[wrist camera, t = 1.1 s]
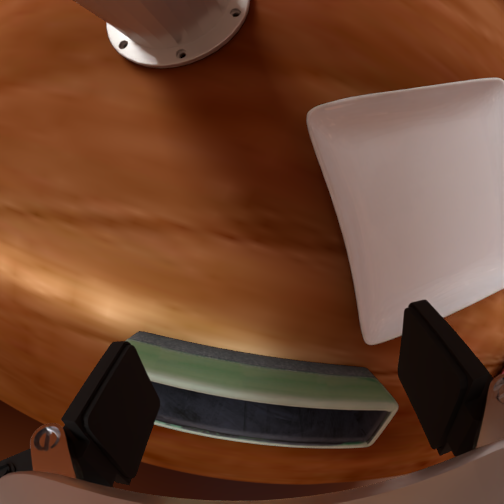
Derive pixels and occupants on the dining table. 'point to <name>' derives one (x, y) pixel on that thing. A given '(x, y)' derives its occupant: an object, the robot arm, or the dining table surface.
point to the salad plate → (417, 196)
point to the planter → (263, 396)
